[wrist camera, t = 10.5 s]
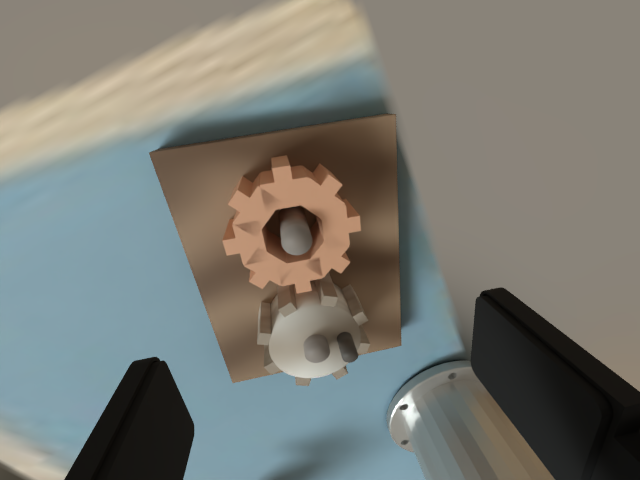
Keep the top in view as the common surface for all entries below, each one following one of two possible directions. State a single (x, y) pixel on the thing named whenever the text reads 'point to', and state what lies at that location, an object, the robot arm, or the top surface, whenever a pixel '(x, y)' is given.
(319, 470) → the top surface
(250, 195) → the terracotta gear
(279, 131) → the gear board
